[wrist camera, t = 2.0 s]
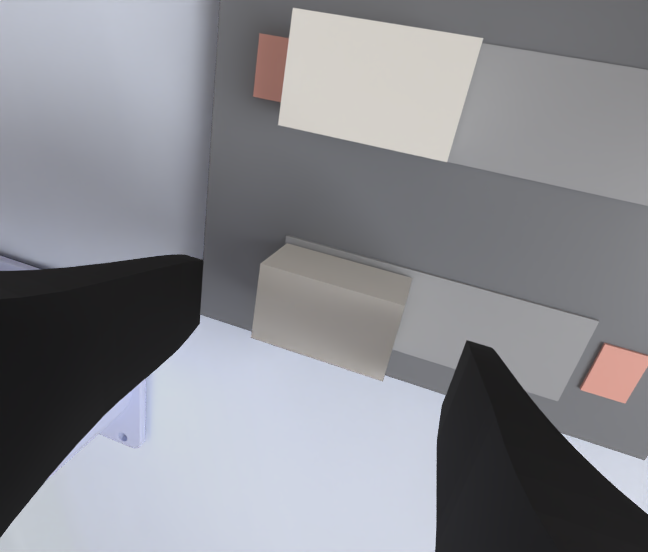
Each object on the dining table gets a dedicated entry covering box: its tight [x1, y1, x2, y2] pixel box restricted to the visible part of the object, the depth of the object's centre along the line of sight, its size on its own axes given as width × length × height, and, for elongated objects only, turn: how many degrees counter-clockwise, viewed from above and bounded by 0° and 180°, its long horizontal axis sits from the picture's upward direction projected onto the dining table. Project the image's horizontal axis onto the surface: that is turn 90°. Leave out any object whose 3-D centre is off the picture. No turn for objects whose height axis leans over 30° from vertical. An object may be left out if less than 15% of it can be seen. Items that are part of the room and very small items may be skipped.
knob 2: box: [251, 243, 412, 381], centre depth 12 cm, size 4×2×2 cm, turn 79°
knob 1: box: [278, 8, 483, 162], centre depth 10 cm, size 4×2×2 cm, turn 79°
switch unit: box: [200, 0, 648, 460], centre depth 11 cm, size 15×17×1 cm
